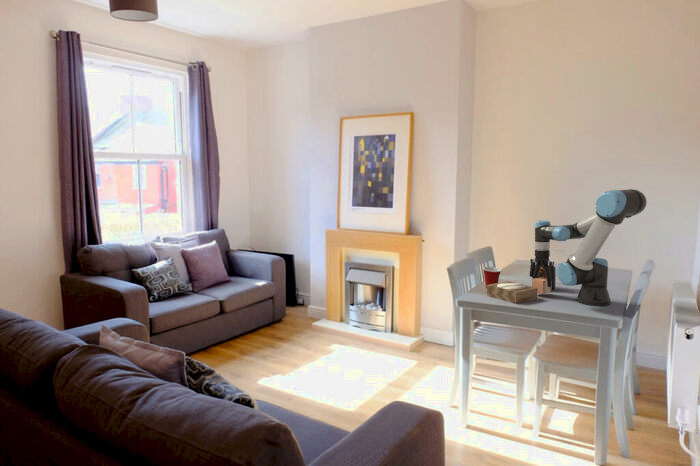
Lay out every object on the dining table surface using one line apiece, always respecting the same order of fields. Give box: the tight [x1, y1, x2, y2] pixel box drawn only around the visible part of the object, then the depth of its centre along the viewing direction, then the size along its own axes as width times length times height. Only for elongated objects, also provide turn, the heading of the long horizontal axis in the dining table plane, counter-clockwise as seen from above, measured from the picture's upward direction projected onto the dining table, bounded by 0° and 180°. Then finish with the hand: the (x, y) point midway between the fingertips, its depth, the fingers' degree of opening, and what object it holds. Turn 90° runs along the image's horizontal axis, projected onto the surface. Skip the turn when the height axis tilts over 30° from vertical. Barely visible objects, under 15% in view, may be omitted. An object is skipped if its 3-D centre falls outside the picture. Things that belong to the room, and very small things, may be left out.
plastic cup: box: [482, 266, 503, 290], centre depth 282 cm, size 11×11×12 cm
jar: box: [537, 263, 557, 291], centre depth 279 cm, size 12×12×15 cm
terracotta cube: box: [531, 277, 553, 295], centre depth 264 cm, size 7×7×7 cm
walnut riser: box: [486, 280, 538, 305], centre depth 262 cm, size 20×16×6 cm
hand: (541, 291), depth 265 cm, fingers closed on terracotta cube, 7 cm apart
